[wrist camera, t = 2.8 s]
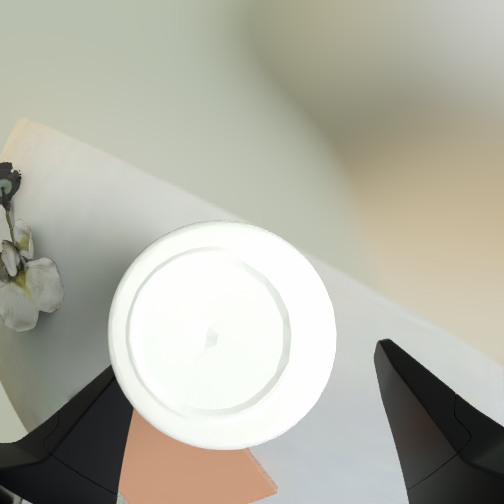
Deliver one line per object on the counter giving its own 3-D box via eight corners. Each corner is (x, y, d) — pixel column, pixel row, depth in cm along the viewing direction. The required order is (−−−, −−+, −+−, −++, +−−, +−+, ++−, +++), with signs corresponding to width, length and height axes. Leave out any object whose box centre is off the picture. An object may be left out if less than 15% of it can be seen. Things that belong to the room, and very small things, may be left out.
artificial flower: (39, 171, 28) (12, 123, 19) (89, 311, 24) (40, 282, 15) (-5, 205, 25) (-39, 164, 16) (33, 350, 20) (-26, 338, 11)
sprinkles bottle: (218, 324, 18) (77, 277, 5) (279, 293, 18) (262, 173, 5) (249, 385, 16) (158, 479, 4) (312, 353, 16) (386, 386, 4)
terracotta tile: (277, 486, 13) (276, 493, 12) (151, 519, 13) (146, 524, 12) (186, 350, 17) (181, 351, 16) (78, 406, 17) (70, 407, 16)
